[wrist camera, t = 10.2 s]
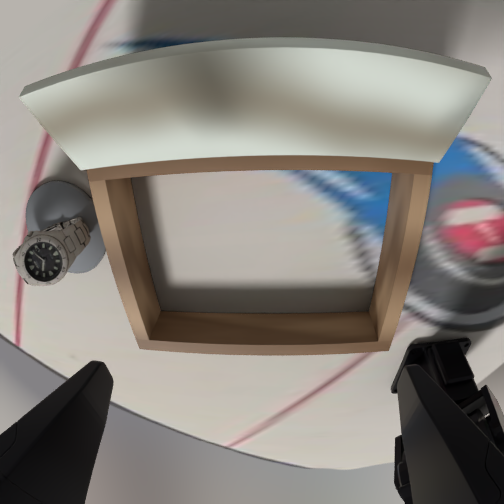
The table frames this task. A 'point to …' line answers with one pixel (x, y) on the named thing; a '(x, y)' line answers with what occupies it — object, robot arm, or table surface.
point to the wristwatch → (51, 252)
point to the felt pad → (67, 218)
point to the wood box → (260, 159)
